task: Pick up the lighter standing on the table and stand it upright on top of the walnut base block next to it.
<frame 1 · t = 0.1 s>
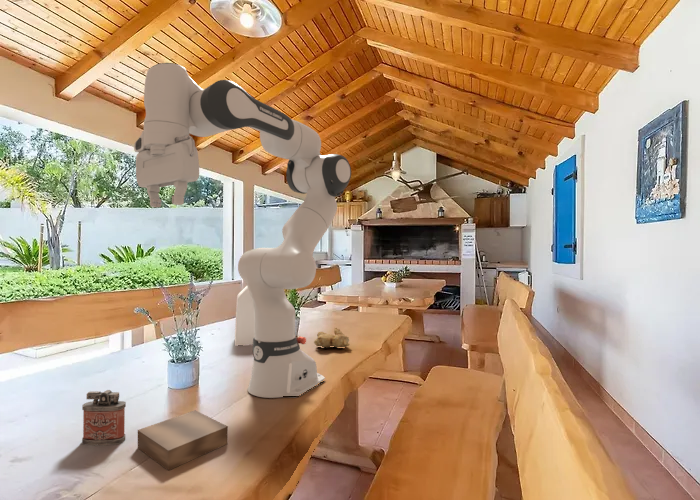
hand: (166, 205, 84), 48 cm above the table, tool pointing down, fingers open, 8 cm apart
walnut base: (183, 445, 77), on the table
lighter: (104, 441, 79), on the table
ginger root: (332, 348, 153), on the table
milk: (249, 341, 161), on the table
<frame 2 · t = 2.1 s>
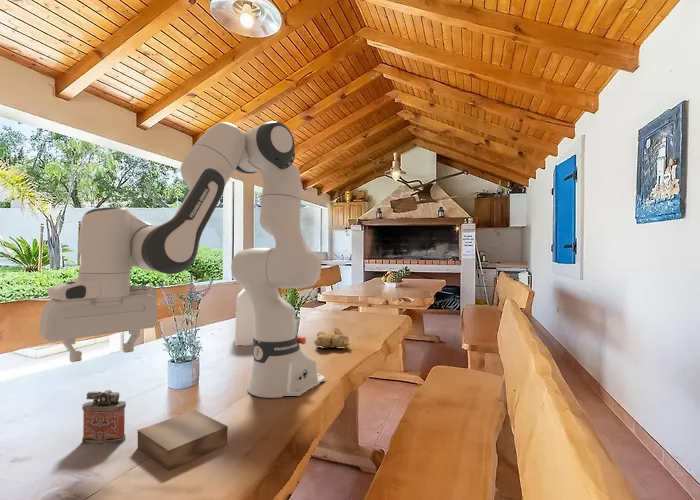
hand: (103, 356, 78), 17 cm above the table, tool pointing down, fingers open, 8 cm apart
nothing on the table moved.
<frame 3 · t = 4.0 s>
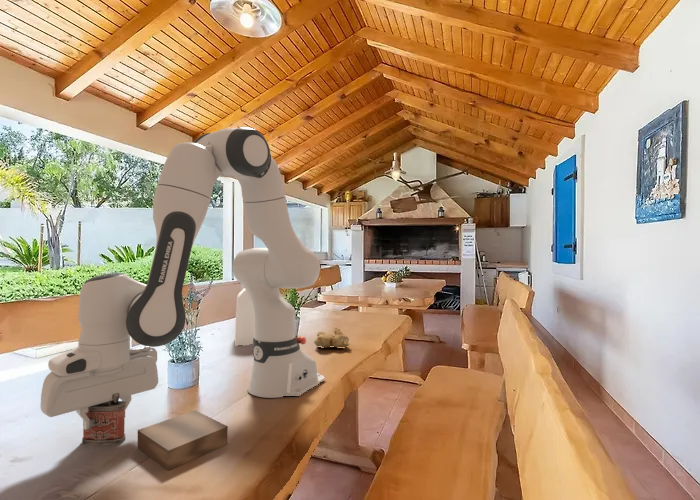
hand: (104, 422, 79), 4 cm above the table, tool pointing down, fingers open, 4 cm apart
lighter: (104, 441, 79), on the table, touching gripper
everything else where it was.
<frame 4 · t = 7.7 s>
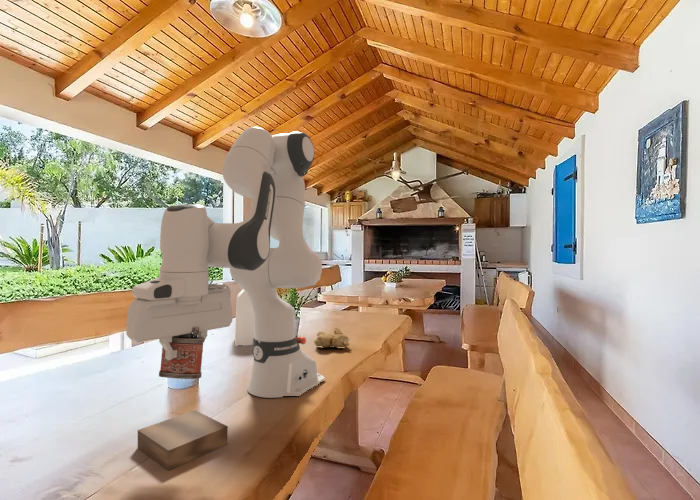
hand: (183, 356, 77), 18 cm above the table, tool pointing down, fingers closed on lighter, 4 cm apart
lighter: (180, 377, 76), point 14 cm above the table, touching gripper
everything else where it was.
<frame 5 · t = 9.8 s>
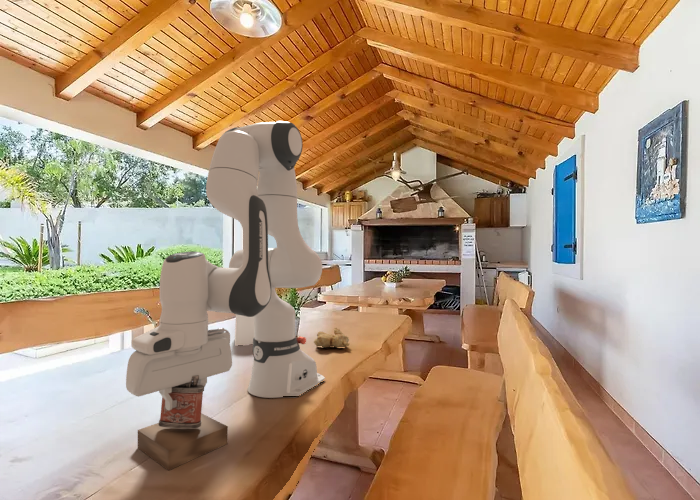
hand: (183, 404, 77), 8 cm above the table, tool pointing down, fingers closed on lighter, 4 cm apart
lighter: (179, 426, 76), point 4 cm above the table, touching gripper
everything else where it was.
when the fingers open (8 cm above the table, at t = 10.4 s): lighter stays where it is, resting on walnut base.
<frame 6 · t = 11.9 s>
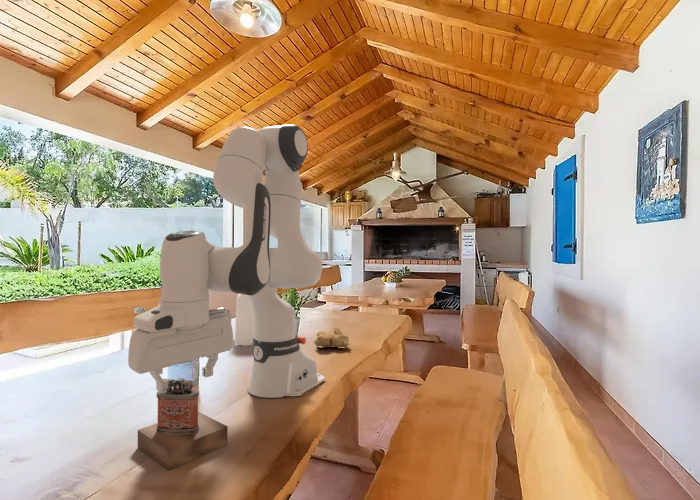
hand: (186, 382, 77), 12 cm above the table, tool pointing down, fingers open, 8 cm apart
lighter: (177, 431, 76), point 3 cm above the table, touching walnut base
everything else where it was.
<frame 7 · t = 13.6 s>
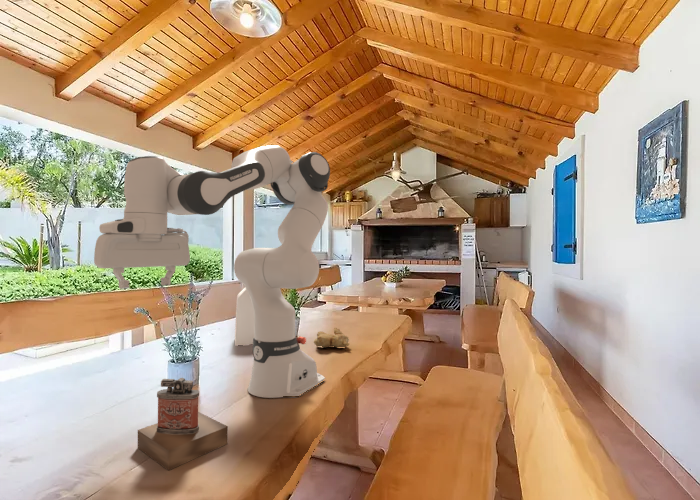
hand: (145, 286, 90), 30 cm above the table, tool pointing down, fingers open, 8 cm apart
nothing on the table moved.
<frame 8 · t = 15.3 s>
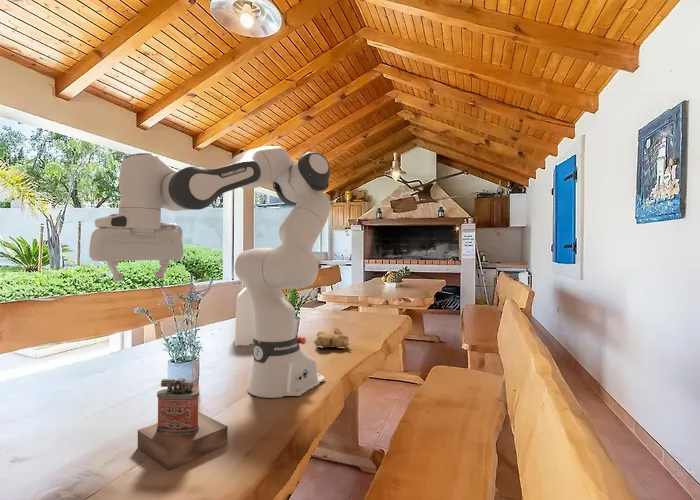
hand: (139, 279, 93), 31 cm above the table, tool pointing down, fingers open, 8 cm apart
nothing on the table moved.
at the end: lighter inside the target area on the walnut base (1.1 cm from its centre), point 3.3 cm above the walnut base's base; lighter tilted 0°; the gripper is holding nothing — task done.
